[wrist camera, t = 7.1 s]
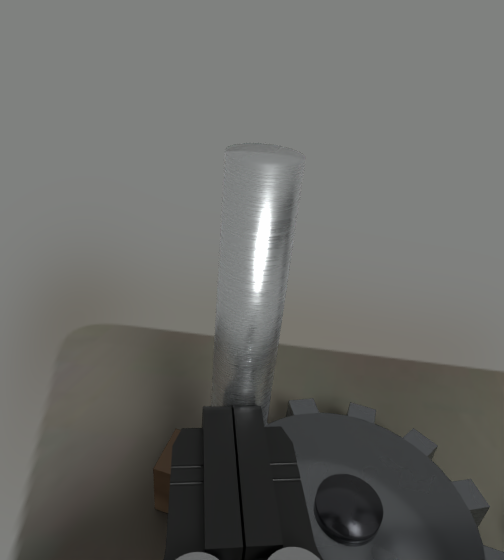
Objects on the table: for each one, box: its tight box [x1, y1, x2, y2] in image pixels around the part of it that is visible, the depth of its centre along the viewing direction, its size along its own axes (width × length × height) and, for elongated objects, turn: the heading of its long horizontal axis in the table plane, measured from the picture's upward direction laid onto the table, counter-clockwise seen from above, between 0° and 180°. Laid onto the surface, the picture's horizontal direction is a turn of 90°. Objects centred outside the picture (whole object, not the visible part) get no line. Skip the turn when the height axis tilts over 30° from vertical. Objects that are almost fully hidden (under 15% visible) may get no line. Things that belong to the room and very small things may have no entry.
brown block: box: [153, 429, 181, 513], centre depth 18 cm, size 1×2×2 cm, turn 164°
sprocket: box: [211, 143, 504, 560], centre depth 14 cm, size 11×11×15 cm
